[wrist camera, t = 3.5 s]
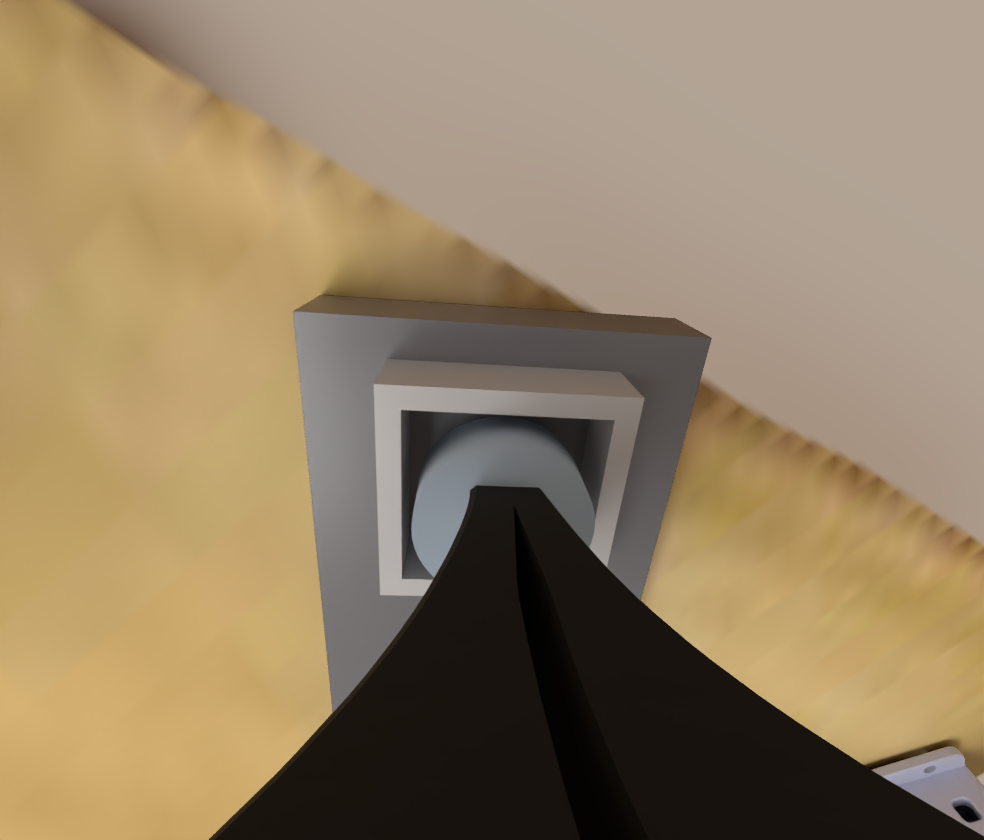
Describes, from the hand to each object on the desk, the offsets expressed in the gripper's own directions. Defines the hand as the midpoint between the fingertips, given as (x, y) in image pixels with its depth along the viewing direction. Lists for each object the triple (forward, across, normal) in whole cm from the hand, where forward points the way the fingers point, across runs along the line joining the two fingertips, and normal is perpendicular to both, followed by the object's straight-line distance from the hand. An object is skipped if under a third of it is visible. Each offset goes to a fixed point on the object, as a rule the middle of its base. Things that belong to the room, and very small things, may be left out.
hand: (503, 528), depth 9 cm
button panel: (+4, 0, +10) cm, 11 cm away
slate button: (+1, 0, 0) cm, 1 cm away
